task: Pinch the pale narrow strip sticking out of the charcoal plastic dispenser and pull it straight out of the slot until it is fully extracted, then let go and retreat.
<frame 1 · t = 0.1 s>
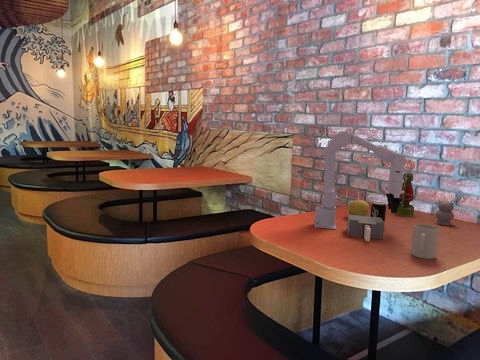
hand: (392, 211, 174), 10 cm above the table, fingers open, 7 cm apart
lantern: (403, 214, 219), on the table
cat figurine: (443, 224, 200), on the table
fruit: (357, 219, 202), on the table
beverage can: (376, 228, 184), on the table
mug: (422, 257, 145), on the table
pale narrow strip: (366, 231, 165), point 3 cm above the table, slide at 0.0 cm
dispenser: (364, 234, 171), on the table
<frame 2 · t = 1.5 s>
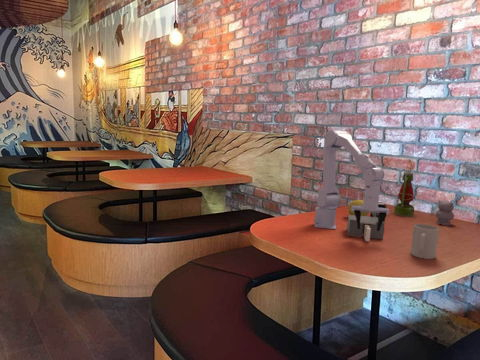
hand: (368, 229, 161), 5 cm above the table, fingers open, 7 cm apart
nothing on the table moved.
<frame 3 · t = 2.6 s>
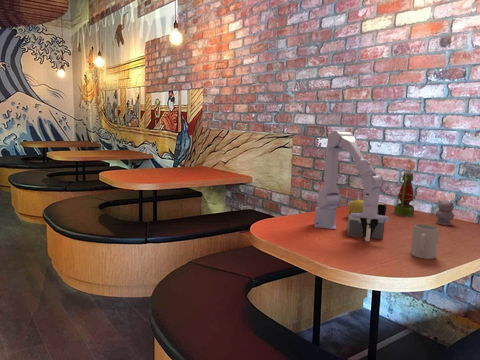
hand: (367, 236, 162), 2 cm above the table, fingers closed on pale narrow strip
pale narrow strip: (366, 231, 165), point 3 cm above the table, slide at 0.0 cm, touching gripper
everything else where it was.
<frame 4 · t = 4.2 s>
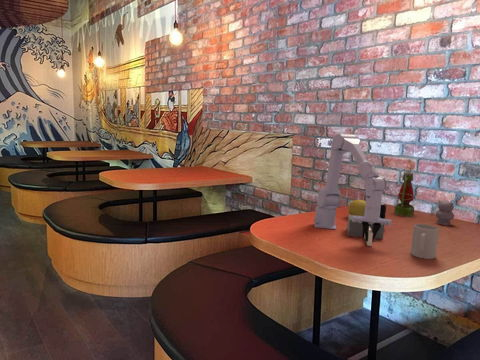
hand: (369, 241, 155), 2 cm above the table, fingers closed on pale narrow strip
pale narrow strip: (368, 235, 159), point 3 cm above the table, slide at 6.5 cm, touching gripper
everything else where it was.
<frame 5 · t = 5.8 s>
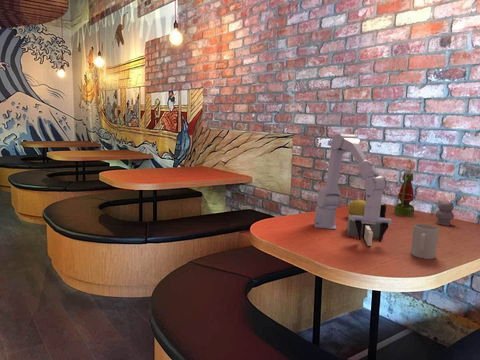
hand: (369, 240, 155), 2 cm above the table, fingers open, 7 cm apart
pale narrow strip: (368, 235, 159), point 3 cm above the table, slide at 6.5 cm
everything else where it was.
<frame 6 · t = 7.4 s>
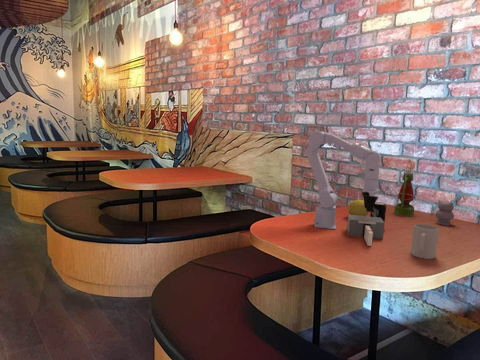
hand: (368, 209, 173), 10 cm above the table, fingers open, 7 cm apart
nothing on the table moved.
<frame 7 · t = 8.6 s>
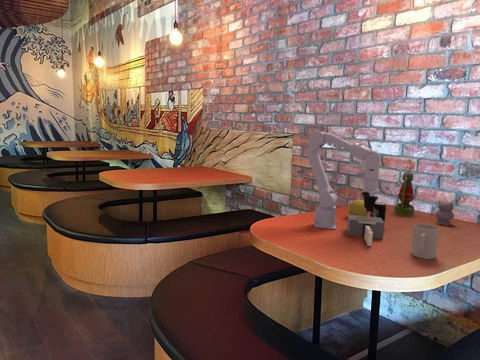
hand: (368, 209, 173), 10 cm above the table, fingers open, 7 cm apart
nothing on the table moved.
at the end: pale narrow strip slide at 6.5 cm; the gripper is holding nothing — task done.
